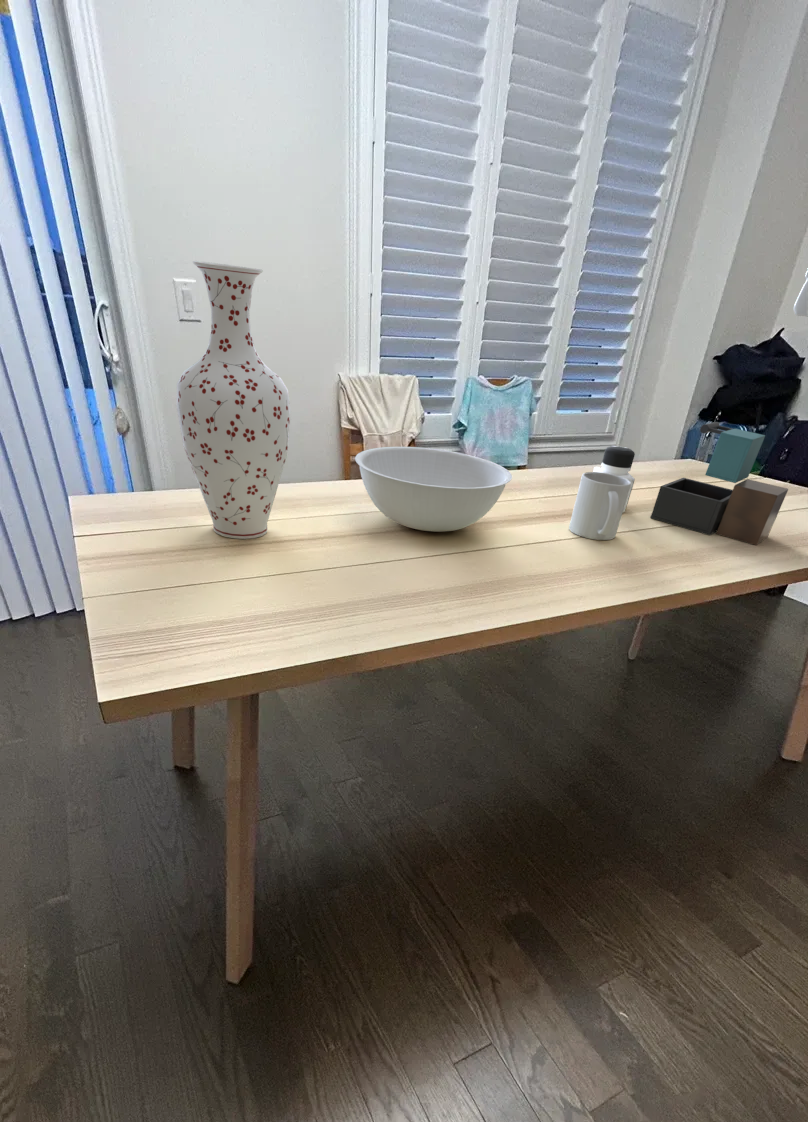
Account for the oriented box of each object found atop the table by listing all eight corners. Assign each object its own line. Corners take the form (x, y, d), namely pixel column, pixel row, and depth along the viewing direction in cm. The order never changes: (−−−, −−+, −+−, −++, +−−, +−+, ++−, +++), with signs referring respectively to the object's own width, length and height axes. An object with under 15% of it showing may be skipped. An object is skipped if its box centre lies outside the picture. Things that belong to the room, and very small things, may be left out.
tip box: (766, 432, 124) (714, 420, 129) (754, 436, 118) (700, 423, 123) (747, 477, 129) (698, 464, 134) (735, 483, 123) (683, 469, 128)
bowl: (323, 508, 116) (324, 450, 110) (436, 495, 131) (442, 443, 125) (414, 559, 99) (421, 494, 94) (532, 538, 114) (544, 481, 108)
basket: (729, 523, 136) (741, 492, 133) (709, 535, 127) (722, 502, 124) (672, 507, 142) (683, 477, 139) (650, 518, 133) (660, 486, 130)
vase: (310, 529, 106) (315, 275, 86) (248, 556, 94) (237, 266, 74) (233, 507, 111) (221, 263, 91) (165, 530, 99) (133, 253, 79)
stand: (767, 536, 131) (788, 488, 125) (756, 545, 125) (777, 495, 119) (728, 525, 135) (747, 478, 129) (715, 533, 129) (734, 484, 123)
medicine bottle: (625, 513, 134) (643, 453, 128) (592, 509, 134) (608, 449, 127) (616, 503, 140) (633, 446, 134) (585, 500, 140) (600, 442, 133)
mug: (578, 521, 126) (592, 469, 120) (624, 534, 122) (641, 480, 116) (557, 533, 118) (570, 477, 112) (605, 547, 114) (622, 490, 108)
